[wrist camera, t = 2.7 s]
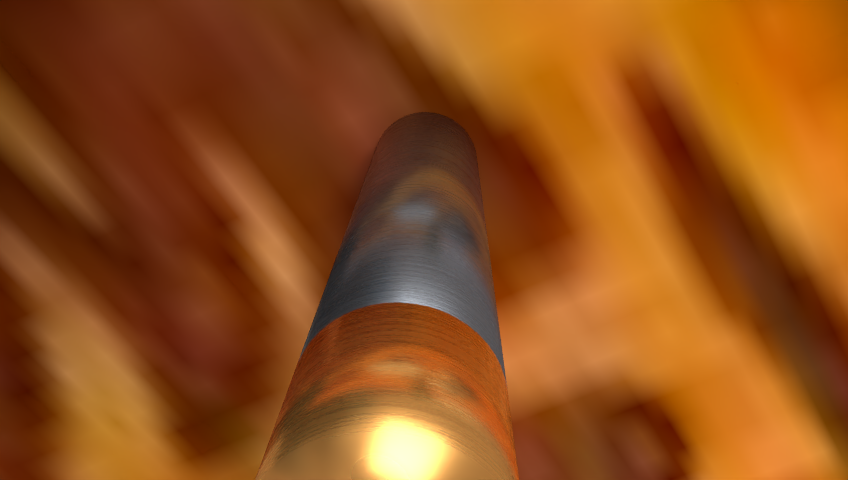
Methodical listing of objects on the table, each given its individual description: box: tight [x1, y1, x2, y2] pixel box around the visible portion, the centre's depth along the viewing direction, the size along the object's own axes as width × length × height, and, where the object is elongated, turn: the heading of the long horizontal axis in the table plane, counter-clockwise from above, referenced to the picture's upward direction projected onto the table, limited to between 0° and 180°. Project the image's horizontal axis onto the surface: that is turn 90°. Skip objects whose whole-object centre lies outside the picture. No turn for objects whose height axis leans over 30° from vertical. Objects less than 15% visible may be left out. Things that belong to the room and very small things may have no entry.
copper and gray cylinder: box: [255, 112, 519, 480], centre depth 16 cm, size 3×3×16 cm
